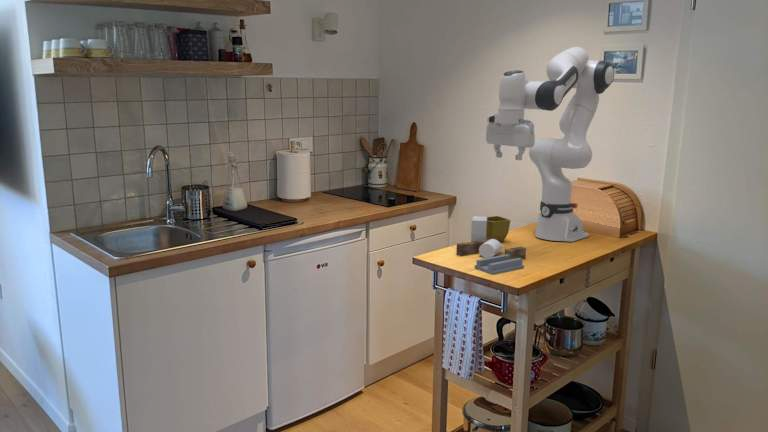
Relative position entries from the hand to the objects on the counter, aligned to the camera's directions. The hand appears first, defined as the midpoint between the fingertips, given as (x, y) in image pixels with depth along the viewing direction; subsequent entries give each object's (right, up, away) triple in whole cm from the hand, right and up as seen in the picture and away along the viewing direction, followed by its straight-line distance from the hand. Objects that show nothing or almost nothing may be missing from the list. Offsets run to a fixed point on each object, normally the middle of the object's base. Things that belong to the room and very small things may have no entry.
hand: (508, 158), depth 214 cm
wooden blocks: (-6, -34, +2) cm, 35 cm away
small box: (-8, -31, +17) cm, 37 cm away
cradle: (-5, -37, -12) cm, 39 cm away
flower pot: (-1, -30, +25) cm, 39 cm away
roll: (-5, -34, +5) cm, 35 cm away
